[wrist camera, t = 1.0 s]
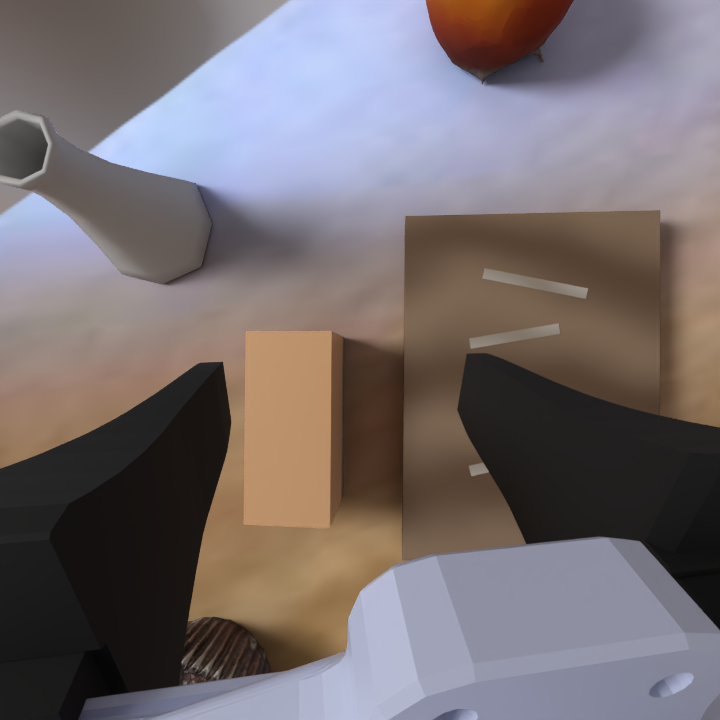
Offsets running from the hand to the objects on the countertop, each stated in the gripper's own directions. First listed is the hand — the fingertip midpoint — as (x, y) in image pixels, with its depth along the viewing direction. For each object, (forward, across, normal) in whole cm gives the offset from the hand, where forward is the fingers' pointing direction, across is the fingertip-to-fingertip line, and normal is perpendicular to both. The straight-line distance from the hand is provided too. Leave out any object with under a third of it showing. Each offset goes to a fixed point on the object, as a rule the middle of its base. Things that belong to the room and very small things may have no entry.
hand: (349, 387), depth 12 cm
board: (+9, -12, +6) cm, 16 cm away
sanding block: (+11, +1, +9) cm, 14 cm away
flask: (+19, +10, -1) cm, 22 cm away
